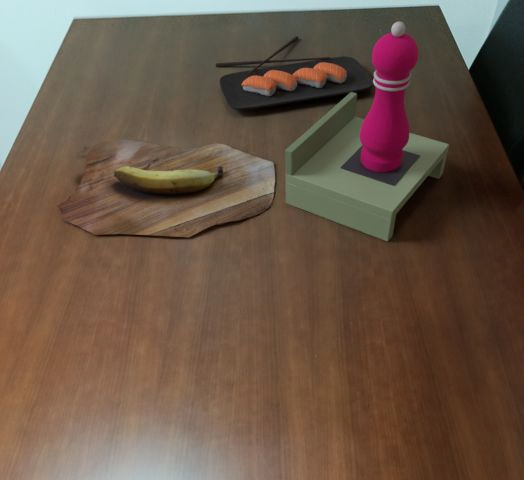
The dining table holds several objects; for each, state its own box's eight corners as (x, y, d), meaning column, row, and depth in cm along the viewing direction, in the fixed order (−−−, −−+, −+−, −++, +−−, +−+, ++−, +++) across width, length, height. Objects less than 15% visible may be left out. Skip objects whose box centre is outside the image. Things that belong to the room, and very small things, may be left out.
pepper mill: (392, 180, 86) (414, 38, 71) (348, 166, 89) (360, 27, 73) (412, 156, 90) (437, 16, 74) (370, 143, 93) (385, 6, 77)
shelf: (442, 174, 96) (454, 120, 89) (387, 242, 86) (396, 187, 79) (346, 143, 103) (350, 91, 96) (285, 203, 93) (284, 149, 86)
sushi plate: (231, 120, 110) (229, 100, 107) (203, 52, 128) (201, 33, 125) (377, 96, 113) (379, 76, 110) (329, 33, 132) (330, 15, 129)
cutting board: (42, 235, 90) (34, 215, 87) (92, 139, 107) (86, 120, 104) (267, 243, 87) (266, 222, 84) (281, 143, 104) (281, 123, 101)
